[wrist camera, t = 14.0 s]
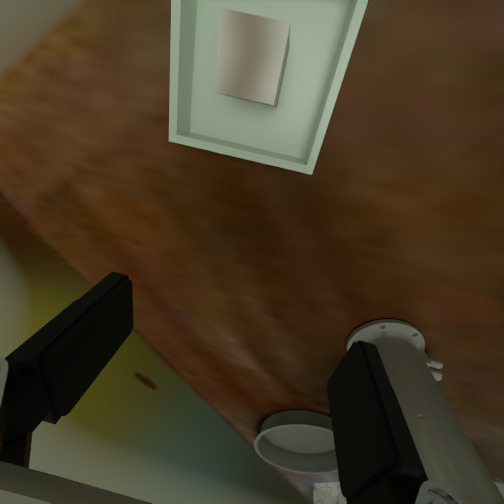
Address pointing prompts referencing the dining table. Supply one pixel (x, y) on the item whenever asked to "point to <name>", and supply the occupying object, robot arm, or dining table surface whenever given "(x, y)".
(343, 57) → the sage bin
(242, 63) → the cream block
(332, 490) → the grocery bag
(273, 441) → the cake pan
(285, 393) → the dining table surface
